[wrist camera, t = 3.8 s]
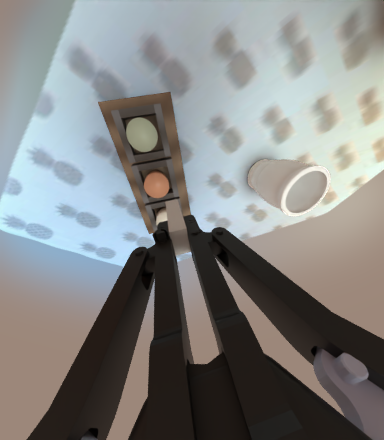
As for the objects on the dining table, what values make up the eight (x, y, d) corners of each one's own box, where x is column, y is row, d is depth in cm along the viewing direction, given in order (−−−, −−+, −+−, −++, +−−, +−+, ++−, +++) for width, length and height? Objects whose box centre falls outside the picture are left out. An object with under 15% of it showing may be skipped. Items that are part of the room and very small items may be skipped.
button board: (101, 104, 27) (90, 98, 22) (169, 94, 28) (171, 87, 23) (149, 229, 43) (148, 240, 39) (191, 220, 44) (194, 229, 40)
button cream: (154, 210, 34) (153, 216, 32) (174, 205, 35) (175, 211, 32) (159, 226, 37) (159, 233, 35) (178, 222, 38) (179, 228, 35)
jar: (281, 179, 42) (332, 198, 30) (250, 199, 44) (286, 225, 31) (272, 146, 37) (331, 152, 24) (238, 170, 38) (275, 188, 26)
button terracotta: (142, 173, 30) (140, 176, 27) (165, 168, 30) (165, 171, 27) (149, 195, 32) (148, 200, 30) (170, 190, 33) (171, 195, 30)
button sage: (125, 121, 25) (121, 119, 22) (153, 117, 25) (152, 115, 23) (135, 152, 27) (132, 154, 25) (160, 147, 28) (160, 149, 25)
